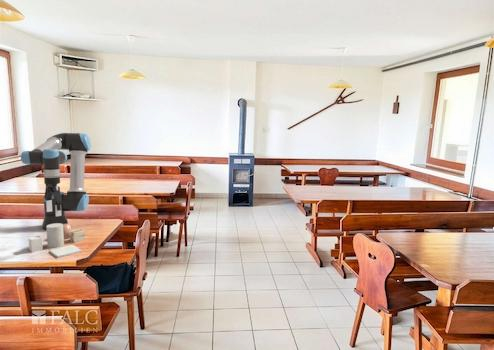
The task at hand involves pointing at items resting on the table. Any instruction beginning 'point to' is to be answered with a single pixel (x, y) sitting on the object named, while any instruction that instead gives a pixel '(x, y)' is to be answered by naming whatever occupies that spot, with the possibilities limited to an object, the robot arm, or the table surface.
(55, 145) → the robot arm
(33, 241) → the offwhite box
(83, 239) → the birch block
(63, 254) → the mat
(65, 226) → the terracotta cylinder
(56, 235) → the cup
